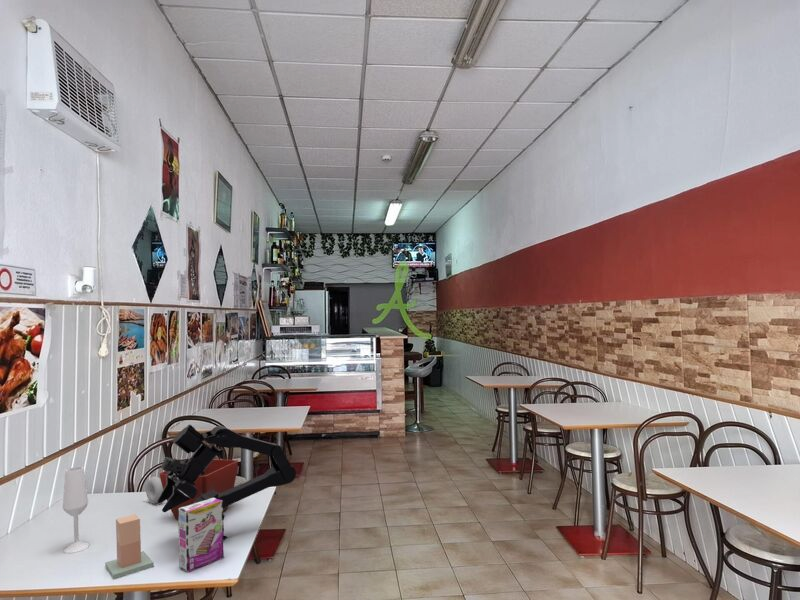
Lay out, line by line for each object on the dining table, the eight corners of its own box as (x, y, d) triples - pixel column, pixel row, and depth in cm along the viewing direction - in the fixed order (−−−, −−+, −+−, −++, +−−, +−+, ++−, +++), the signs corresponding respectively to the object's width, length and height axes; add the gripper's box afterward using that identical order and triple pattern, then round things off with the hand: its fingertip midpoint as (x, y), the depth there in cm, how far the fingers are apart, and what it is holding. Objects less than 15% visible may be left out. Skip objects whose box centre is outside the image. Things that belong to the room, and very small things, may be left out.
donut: (167, 504, 199) (166, 477, 199) (158, 507, 196) (157, 479, 197) (153, 499, 205) (152, 473, 205) (144, 502, 202) (143, 476, 203)
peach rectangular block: (136, 556, 152) (135, 514, 152) (141, 562, 148) (139, 518, 149) (117, 562, 149) (115, 519, 149) (121, 568, 145) (120, 523, 145)
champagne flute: (66, 545, 165) (64, 467, 166) (91, 541, 167) (89, 464, 168) (61, 554, 159) (59, 473, 159) (87, 550, 161) (84, 470, 162)
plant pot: (159, 523, 181) (157, 473, 181) (197, 503, 199) (195, 458, 199) (206, 527, 175) (204, 476, 175) (241, 507, 193) (239, 460, 193)
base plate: (143, 555, 155) (143, 551, 156) (153, 566, 148) (153, 562, 148) (105, 566, 149) (105, 562, 149) (113, 579, 141) (113, 574, 141)
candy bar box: (188, 573, 143) (186, 511, 143) (178, 568, 146) (176, 508, 147) (225, 557, 152) (223, 499, 152) (215, 553, 155) (213, 496, 155)
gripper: (173, 441, 167) (135, 483, 161) (184, 452, 152) (142, 500, 145) (200, 461, 171) (164, 504, 165) (213, 475, 156) (174, 522, 149)
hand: (160, 507), depth 156 cm, fingers open, 9 cm apart
